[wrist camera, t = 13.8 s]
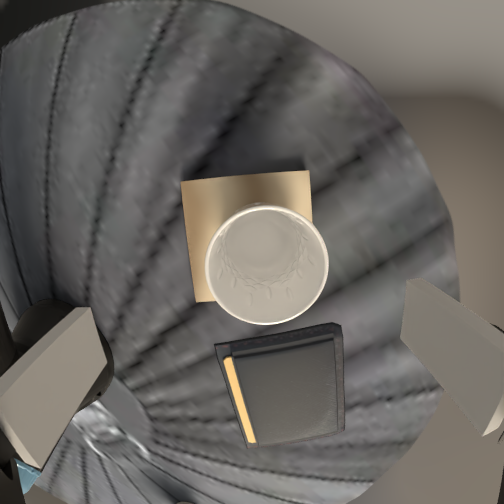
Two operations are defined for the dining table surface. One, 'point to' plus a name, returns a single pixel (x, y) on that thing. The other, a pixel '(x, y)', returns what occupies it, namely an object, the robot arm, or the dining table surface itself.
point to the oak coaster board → (234, 209)
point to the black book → (286, 384)
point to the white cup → (266, 264)
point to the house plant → (184, 503)
